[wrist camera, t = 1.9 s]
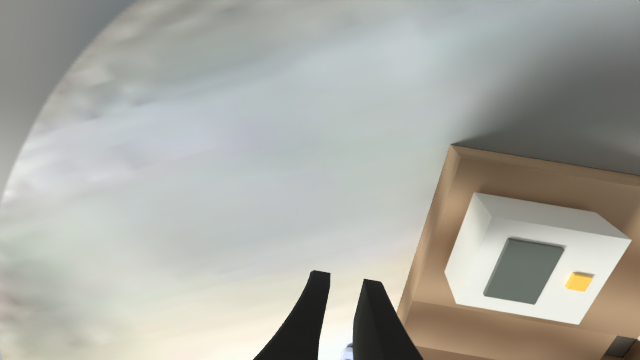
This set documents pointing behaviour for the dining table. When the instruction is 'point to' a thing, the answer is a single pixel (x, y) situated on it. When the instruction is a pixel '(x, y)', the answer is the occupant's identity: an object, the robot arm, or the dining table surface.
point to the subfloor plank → (507, 328)
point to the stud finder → (532, 258)
